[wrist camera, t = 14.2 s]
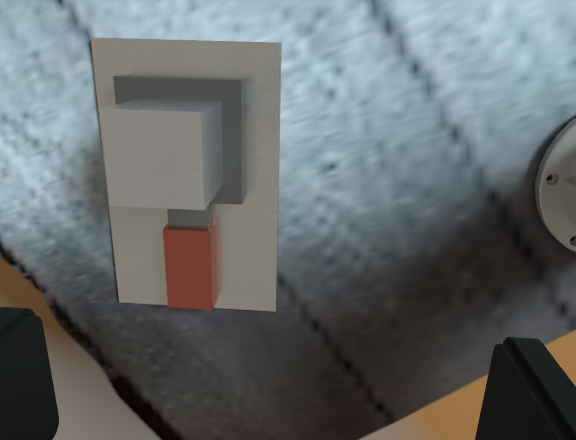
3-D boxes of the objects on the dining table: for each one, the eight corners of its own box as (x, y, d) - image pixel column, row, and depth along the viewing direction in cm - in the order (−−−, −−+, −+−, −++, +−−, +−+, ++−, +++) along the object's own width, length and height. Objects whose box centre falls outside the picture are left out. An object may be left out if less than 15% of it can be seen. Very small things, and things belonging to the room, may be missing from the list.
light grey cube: (221, 101, 33) (200, 112, 27) (223, 184, 35) (204, 210, 29) (137, 98, 33) (99, 108, 27) (143, 181, 35) (109, 206, 29)
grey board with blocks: (281, 42, 34) (272, 40, 27) (276, 308, 41) (267, 356, 35) (93, 37, 35) (40, 34, 28) (121, 299, 42) (84, 345, 36)
